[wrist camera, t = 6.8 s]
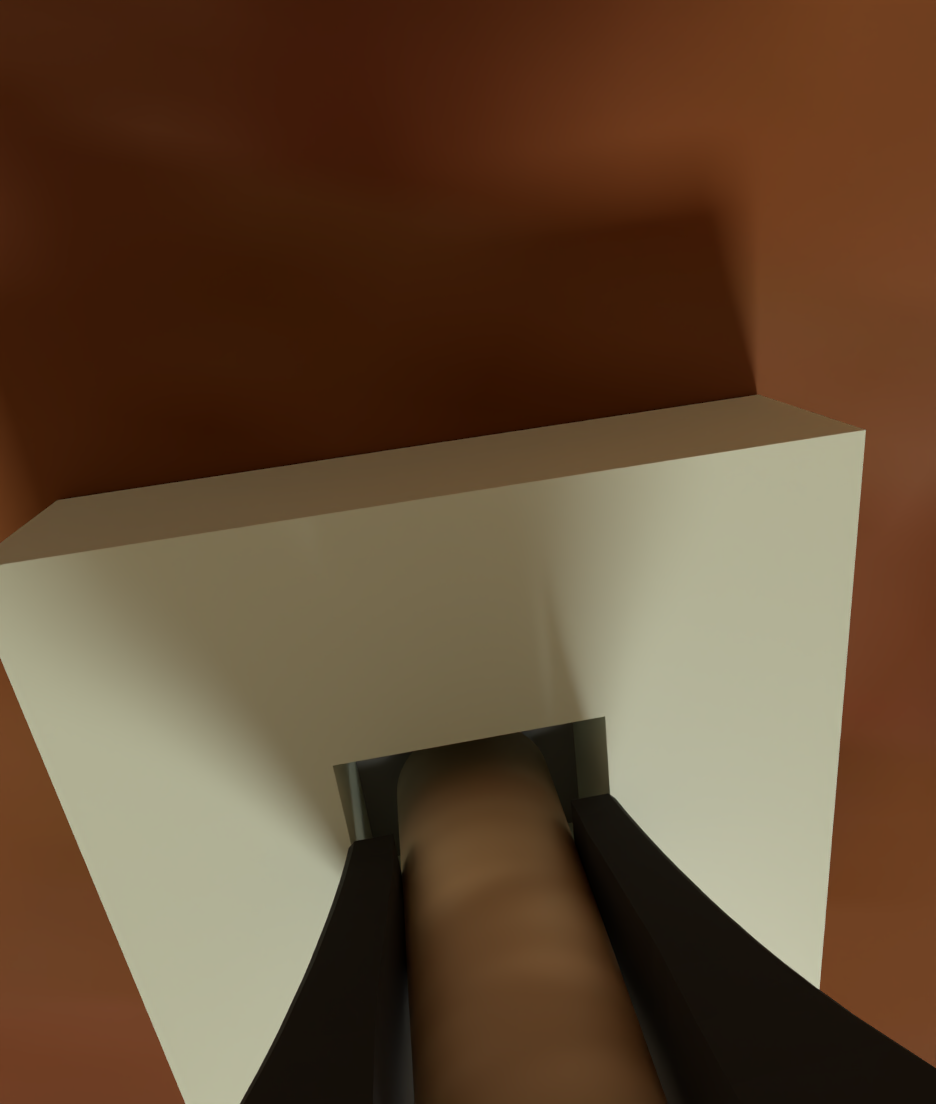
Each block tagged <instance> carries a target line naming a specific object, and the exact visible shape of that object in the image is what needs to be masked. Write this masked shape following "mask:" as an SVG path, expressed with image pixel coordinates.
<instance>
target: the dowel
mask: <svg viewBox="0 0 936 1104" xmlns="http://www.w3.org/2000/svg"><path fill="white" fill-rule="evenodd" d="M397 805H398V823H399V840H400V858H401V873H402V885H403V902H404V920H405V941H406V963H407V981H408V999H409V1016H410V1034H411V1051H412V1069H413V1086H414V1104H668V1102H667V1100H666V1097H665V1094H664V1091H663V1088H662V1086H661V1083H660V1080H659V1077H658V1074H657V1072H656V1069H655V1066H654V1063H653V1060H652V1058H651V1055H650V1052H649V1049H648V1046H647V1044H646V1041H645V1038H644V1035H643V1032H642V1030H641V1027H640V1024H639V1021H638V1018H637V1016H636V1013H635V1010H634V1007H633V1004H632V1002H631V999H630V996H629V993H628V990H627V988H626V985H625V982H624V979H623V976H622V974H621V971H620V968H619V965H618V962H617V960H616V957H615V954H614V951H613V948H612V946H611V943H610V940H609V937H608V934H607V932H606V929H605V926H604V923H603V920H602V918H601V915H600V912H599V909H598V906H597V904H596V901H595V898H594V895H593V893H592V890H591V887H590V884H589V881H588V879H587V876H586V873H585V870H584V867H583V865H582V862H581V859H580V856H579V853H578V851H577V848H576V845H575V842H574V839H573V836H572V834H571V831H570V828H569V825H568V822H567V820H566V817H565V814H564V811H563V808H562V806H561V803H560V800H559V797H558V794H557V792H556V789H555V786H554V783H553V780H552V778H551V775H550V772H549V769H548V766H547V764H546V761H545V759H544V756H543V754H542V753H541V751H540V750H539V748H538V747H537V746H536V745H535V743H534V742H533V741H531V740H530V739H529V738H528V737H527V736H525V735H524V734H522V733H521V732H516V733H510V734H505V735H499V736H494V737H488V738H483V739H477V740H472V741H466V742H461V743H455V744H450V745H444V746H438V747H433V748H427V749H422V750H416V751H413V752H412V754H411V755H410V756H409V758H408V759H407V760H406V762H405V764H404V766H403V768H402V770H401V772H400V775H399V778H398V784H397Z"/></svg>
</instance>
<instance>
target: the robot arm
mask: <svg viewBox="0 0 936 1104" xmlns="http://www.w3.org/2000/svg"><path fill="white" fill-rule="evenodd" d="M571 809H572V821H573V832H574V842H575V845H576V848H577V851H578V853H579V856H580V859H581V862H582V865H583V867H584V870H585V873H586V876H587V879H588V881H589V884H590V887H591V890H592V893H593V895H594V898H595V901H596V904H597V906H598V909H599V912H600V915H601V918H602V920H603V923H604V926H605V929H606V932H607V934H608V937H609V940H610V943H611V946H612V948H613V951H614V954H615V957H616V960H617V962H618V965H619V968H620V971H621V974H622V976H623V979H624V982H625V985H626V988H627V990H628V993H629V996H630V999H631V1002H632V1004H633V1007H634V1010H635V1013H636V1016H637V1018H638V1021H639V1024H640V1027H641V1030H642V1032H643V1035H644V1038H645V1041H646V1044H647V1046H648V1049H649V1052H650V1055H651V1058H652V1060H653V1063H654V1066H655V1069H656V1072H657V1074H658V1077H659V1080H660V1083H661V1086H662V1088H663V1091H664V1094H665V1097H666V1100H667V1102H668V1104H936V1068H935V1067H933V1066H932V1065H930V1064H929V1063H927V1062H925V1061H924V1060H922V1059H921V1058H919V1057H918V1056H916V1055H915V1054H913V1053H912V1052H910V1051H909V1050H907V1049H905V1048H904V1047H902V1046H901V1045H899V1044H898V1043H896V1042H895V1041H893V1040H892V1039H890V1038H889V1037H887V1036H886V1035H884V1034H882V1033H881V1032H879V1031H878V1030H876V1029H875V1028H873V1027H872V1026H870V1025H869V1024H867V1023H866V1022H864V1021H862V1020H861V1019H859V1018H858V1017H857V1016H855V1015H854V1014H852V1013H851V1012H849V1011H848V1010H847V1009H845V1008H844V1007H843V1006H841V1005H840V1004H838V1003H837V1002H836V1001H834V1000H833V999H832V998H830V997H829V996H827V995H826V994H825V993H823V992H822V991H820V990H819V989H818V988H816V987H815V986H814V985H812V984H811V983H810V982H808V981H807V980H806V979H805V978H803V977H802V976H801V975H799V974H798V973H797V972H795V971H794V970H793V969H792V968H790V967H789V966H788V965H786V964H785V963H784V962H783V961H781V960H780V959H779V958H778V957H776V956H775V955H774V954H773V953H772V952H770V951H769V950H768V949H767V948H765V947H764V946H763V945H762V944H761V943H760V942H758V941H757V940H756V939H755V938H754V937H752V936H751V935H750V934H749V933H748V932H747V931H746V930H744V929H743V928H742V927H741V926H740V925H739V924H738V923H736V922H735V921H734V920H733V919H732V918H731V917H730V916H728V915H727V914H726V913H725V912H724V911H723V910H722V909H721V908H720V907H719V906H718V905H716V904H715V903H714V902H713V901H712V900H711V899H710V898H709V897H708V896H707V895H706V894H705V893H704V892H703V891H702V890H701V889H700V888H699V887H698V886H697V885H695V884H694V883H693V882H692V881H691V880H690V879H689V878H688V877H687V876H686V875H685V874H684V873H683V872H682V871H681V870H680V869H679V868H678V867H677V866H676V865H675V864H674V863H673V862H672V861H671V860H670V859H669V858H668V857H667V856H666V855H665V854H664V853H663V851H662V850H661V849H660V848H659V847H658V846H657V845H656V844H655V843H654V842H653V841H652V840H651V839H650V838H649V836H648V835H647V834H646V833H645V832H644V831H643V830H642V829H641V828H640V826H639V825H638V824H637V823H636V822H635V821H634V820H633V819H632V817H631V816H630V815H629V814H628V813H627V812H626V810H625V809H624V808H623V807H622V806H621V804H620V803H619V802H618V801H617V799H616V798H615V797H613V796H612V795H610V794H609V793H607V794H601V795H596V796H591V797H586V798H580V799H575V800H571ZM240 1104H414V1086H413V1069H412V1051H411V1034H410V1016H409V999H408V981H407V963H406V941H405V920H404V902H403V885H402V873H401V868H400V863H399V858H398V853H397V849H396V844H395V839H394V834H390V835H384V836H379V837H374V838H368V839H363V840H358V841H354V842H353V844H352V845H351V846H350V847H349V848H348V853H347V857H346V861H345V865H344V868H343V871H342V875H341V878H340V882H339V885H338V888H337V891H336V894H335V897H334V900H333V903H332V905H331V908H330V911H329V914H328V917H327V920H326V922H325V925H324V927H323V930H322V932H321V935H320V937H319V940H318V942H317V945H316V947H315V950H314V952H313V955H312V958H311V960H310V963H309V965H308V967H307V970H306V972H305V974H304V977H303V979H302V981H301V983H300V985H299V988H298V990H297V992H296V994H295V996H294V998H293V1001H292V1003H291V1005H290V1007H289V1009H288V1011H287V1014H286V1016H285V1018H284V1020H283V1022H282V1024H281V1027H280V1029H279V1031H278V1033H277V1035H276V1037H275V1039H274V1041H273V1043H272V1045H271V1047H270V1049H269V1051H268V1053H267V1055H266V1056H265V1058H264V1060H263V1062H262V1064H261V1066H260V1068H259V1070H258V1072H257V1073H256V1075H255V1077H254V1079H253V1081H252V1083H251V1084H250V1086H249V1088H248V1090H247V1092H246V1093H245V1095H244V1097H243V1099H242V1101H241V1103H240Z"/></svg>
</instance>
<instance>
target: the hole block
mask: <svg viewBox="0 0 936 1104" xmlns="http://www.w3.org/2000/svg"><path fill="white" fill-rule="evenodd" d="M865 433H866V430H865V429H862V428H859V427H856V426H853V425H850V424H847V423H844V422H840V421H837V420H834V419H831V418H828V417H825V416H822V415H819V414H816V413H813V412H810V411H807V410H804V409H801V408H798V407H795V406H792V405H789V404H786V403H783V402H780V401H777V400H774V399H771V398H768V397H765V396H761V395H752V396H746V397H739V398H732V399H726V400H719V401H712V402H706V403H699V404H692V405H686V406H679V407H673V408H666V409H659V410H653V411H646V412H639V413H633V414H626V415H619V416H613V417H606V418H599V419H593V420H586V421H579V422H573V423H566V424H560V425H553V426H546V427H540V428H533V429H526V430H520V431H513V432H506V433H500V434H493V435H486V436H480V437H473V438H467V439H460V440H453V441H447V442H440V443H433V444H427V445H420V446H413V447H407V448H400V449H393V450H387V451H380V452H374V453H367V454H360V455H354V456H347V457H340V458H334V459H327V460H320V461H314V462H307V463H300V464H294V465H287V466H281V467H274V468H267V469H261V470H254V471H247V472H241V473H234V474H227V475H221V476H214V477H207V478H201V479H194V480H188V481H181V482H174V483H168V484H161V485H154V486H148V487H141V488H134V489H128V490H121V491H114V492H108V493H101V494H95V495H88V496H81V497H75V498H68V499H61V500H57V501H55V502H54V503H53V504H51V505H50V506H49V507H47V508H46V509H45V510H43V511H42V512H41V513H39V514H38V515H37V516H35V517H34V518H33V519H31V520H30V521H29V522H28V523H26V524H25V525H24V526H22V527H21V528H20V529H18V530H17V531H16V532H14V533H13V534H12V535H10V536H9V537H8V538H6V539H5V540H4V541H2V542H1V543H0V658H1V660H2V663H3V665H4V668H5V670H6V672H7V675H8V677H9V680H10V682H11V684H12V687H13V689H14V692H15V694H16V696H17V699H18V701H19V704H20V706H21V709H22V711H23V713H24V716H25V718H26V721H27V723H28V725H29V728H30V730H31V733H32V735H33V737H34V740H35V742H36V745H37V747H38V749H39V752H40V754H41V757H42V759H43V762H44V764H45V766H46V769H47V771H48V774H49V776H50V778H51V781H52V783H53V786H54V788H55V790H56V793H57V795H58V798H59V800H60V802H61V805H62V807H63V810H64V812H65V814H66V817H67V819H68V822H69V824H70V827H71V829H72V831H73V834H74V836H75V839H76V841H77V843H78V846H79V848H80V851H81V853H82V855H83V858H84V860H85V863H86V865H87V867H88V870H89V872H90V875H91V877H92V880H93V882H94V884H95V887H96V889H97V892H98V894H99V896H100V899H101V901H102V904H103V906H104V908H105V911H106V913H107V916H108V918H109V920H110V923H111V925H112V928H113V930H114V932H115V935H116V937H117V940H118V942H119V945H120V947H121V949H122V952H123V954H124V957H125V959H126V961H127V964H128V966H129V969H130V971H131V973H132V976H133V978H134V981H135V983H136V985H137V988H138V990H139V993H140V995H141V997H142V1000H143V1002H144V1005H145V1007H146V1010H147V1012H148V1014H149V1017H150V1019H151V1022H152V1024H153V1026H154V1029H155V1031H156V1034H157V1036H158V1038H159V1041H160V1043H161V1046H162V1048H163V1050H164V1053H165V1055H166V1058H167V1060H168V1063H169V1065H170V1067H171V1070H172V1072H173V1075H174V1077H175V1079H176V1082H177V1084H178V1087H179V1089H180V1091H181V1094H182V1096H183V1099H184V1101H185V1103H186V1104H240V1103H241V1101H242V1099H243V1097H244V1095H245V1093H246V1092H247V1090H248V1088H249V1086H250V1084H251V1083H252V1081H253V1079H254V1077H255V1075H256V1073H257V1072H258V1070H259V1068H260V1066H261V1064H262V1062H263V1060H264V1058H265V1056H266V1055H267V1053H268V1051H269V1049H270V1047H271V1045H272V1043H273V1041H274V1039H275V1037H276V1035H277V1033H278V1031H279V1029H280V1027H281V1024H282V1022H283V1020H284V1018H285V1016H286V1014H287V1011H288V1009H289V1007H290V1005H291V1003H292V1001H293V998H294V996H295V994H296V992H297V990H298V988H299V985H300V983H301V981H302V979H303V977H304V974H305V972H306V970H307V967H308V965H309V963H310V960H311V958H312V955H313V952H314V950H315V947H316V945H317V942H318V940H319V937H320V935H321V932H322V930H323V927H324V925H325V922H326V920H327V917H328V914H329V911H330V908H331V905H332V903H333V900H334V897H335V894H336V891H337V888H338V885H339V882H340V878H341V875H342V871H343V868H344V865H345V861H346V857H347V853H348V848H349V847H350V846H351V845H352V844H353V842H354V841H358V840H363V839H368V838H374V837H379V836H384V835H390V834H394V839H395V844H396V849H397V853H398V858H399V863H400V868H401V858H400V840H399V823H398V805H397V784H398V778H399V775H400V772H401V770H402V768H403V766H404V764H405V762H406V760H407V759H408V758H409V756H410V755H411V754H412V752H413V751H416V750H422V749H427V748H433V747H438V746H444V745H450V744H455V743H461V742H466V741H472V740H477V739H483V738H488V737H494V736H499V735H505V734H510V733H516V732H521V733H522V734H524V735H525V736H527V737H528V738H529V739H530V740H531V741H533V742H534V743H535V745H536V746H537V747H538V748H539V750H540V751H541V753H542V754H543V756H544V759H545V761H546V764H547V766H548V769H549V772H550V775H551V778H552V780H553V783H554V786H555V789H556V792H557V794H558V797H559V800H560V803H561V806H562V808H563V811H564V814H565V817H566V820H567V822H568V825H569V828H570V831H571V834H572V836H573V839H574V832H573V821H572V809H571V800H575V799H580V798H586V797H591V796H596V795H601V794H607V793H609V794H610V795H612V796H613V797H615V798H616V799H617V801H618V802H619V803H620V804H621V806H622V807H623V808H624V809H625V810H626V812H627V813H628V814H629V815H630V816H631V817H632V819H633V820H634V821H635V822H636V823H637V824H638V825H639V826H640V828H641V829H642V830H643V831H644V832H645V833H646V834H647V835H648V836H649V838H650V839H651V840H652V841H653V842H654V843H655V844H656V845H657V846H658V847H659V848H660V849H661V850H662V851H663V853H664V854H665V855H666V856H667V857H668V858H669V859H670V860H671V861H672V862H673V863H674V864H675V865H676V866H677V867H678V868H679V869H680V870H681V871H682V872H683V873H684V874H685V875H686V876H687V877H688V878H689V879H690V880H691V881H692V882H693V883H694V884H695V885H697V886H698V887H699V888H700V889H701V890H702V891H703V892H704V893H705V894H706V895H707V896H708V897H709V898H710V899H711V900H712V901H713V902H714V903H715V904H716V905H718V906H719V907H720V908H721V909H722V910H723V911H724V912H725V913H726V914H727V915H728V916H730V917H731V918H732V919H733V920H734V921H735V922H736V923H738V924H739V925H740V926H741V927H742V928H743V929H744V930H746V931H747V932H748V933H749V934H750V935H751V936H752V937H754V938H755V939H756V940H757V941H758V942H760V943H761V944H762V945H763V946H764V947H765V948H767V949H768V950H769V951H770V952H772V953H773V954H774V955H775V956H776V957H778V958H779V959H780V960H781V961H783V962H784V963H785V964H786V965H788V966H789V967H790V968H792V969H793V970H794V971H795V972H797V973H798V974H799V975H801V976H802V977H803V978H805V979H806V980H807V981H808V982H810V983H811V984H812V985H814V986H815V987H816V988H818V989H819V987H820V975H821V963H822V951H823V939H824V927H825V915H826V903H827V891H828V879H829V867H830V855H831V843H832V831H833V819H834V807H835V795H836V783H837V771H838V759H839V746H840V734H841V722H842V710H843V698H844V686H845V674H846V662H847V650H848V638H849V626H850V614H851V602H852V590H853V578H854V566H855V554H856V542H857V530H858V518H859V505H860V493H861V481H862V469H863V457H864V445H865Z"/></svg>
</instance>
